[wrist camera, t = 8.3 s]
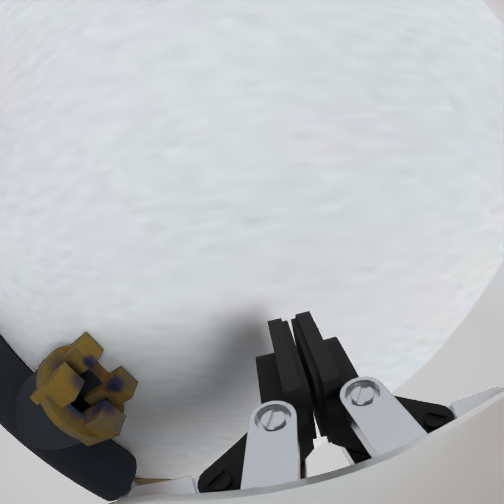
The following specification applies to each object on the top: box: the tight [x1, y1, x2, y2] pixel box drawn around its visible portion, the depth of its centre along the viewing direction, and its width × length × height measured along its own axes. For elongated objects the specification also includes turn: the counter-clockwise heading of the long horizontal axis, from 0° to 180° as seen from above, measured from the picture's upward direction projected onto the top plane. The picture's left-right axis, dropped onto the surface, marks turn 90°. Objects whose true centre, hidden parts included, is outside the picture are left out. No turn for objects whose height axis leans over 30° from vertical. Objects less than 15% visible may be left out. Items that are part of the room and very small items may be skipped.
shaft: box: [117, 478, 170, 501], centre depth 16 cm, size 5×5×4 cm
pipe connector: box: [0, 332, 138, 501], centre depth 13 cm, size 12×5×15 cm
